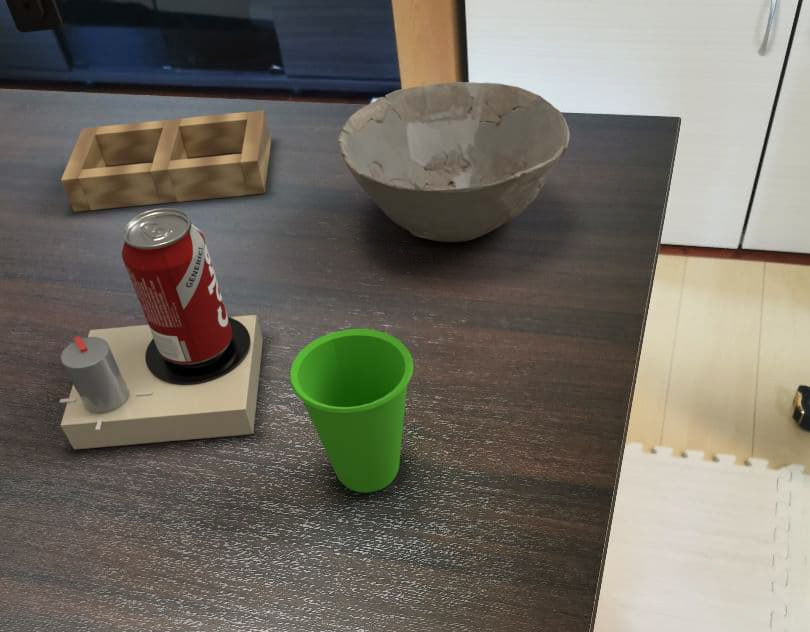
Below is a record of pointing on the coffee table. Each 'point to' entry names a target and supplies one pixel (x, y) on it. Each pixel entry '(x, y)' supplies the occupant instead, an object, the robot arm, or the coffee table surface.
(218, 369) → the burner
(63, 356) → the knob
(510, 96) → the ceramic bowl
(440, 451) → the coffee table surface
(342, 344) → the cup
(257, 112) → the box
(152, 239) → the soda can
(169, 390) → the hob
